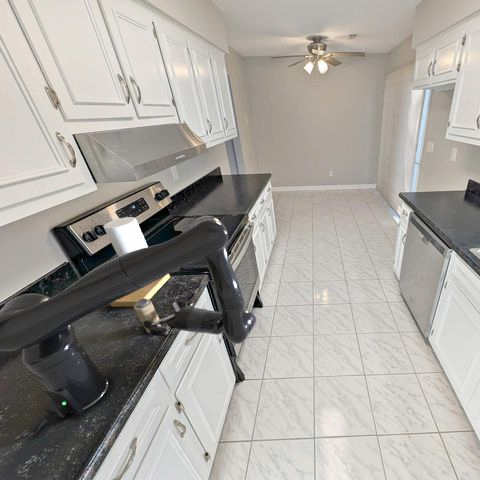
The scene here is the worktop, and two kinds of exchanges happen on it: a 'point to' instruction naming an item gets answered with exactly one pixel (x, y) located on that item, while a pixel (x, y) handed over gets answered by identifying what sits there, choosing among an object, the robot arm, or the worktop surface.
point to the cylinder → (125, 235)
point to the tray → (141, 293)
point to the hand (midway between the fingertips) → (154, 314)
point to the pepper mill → (146, 312)
